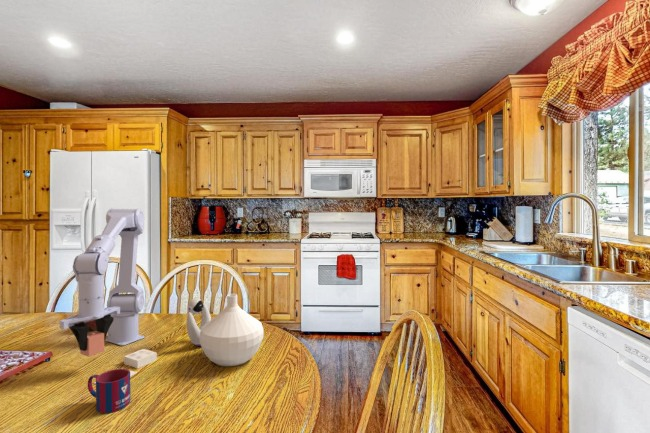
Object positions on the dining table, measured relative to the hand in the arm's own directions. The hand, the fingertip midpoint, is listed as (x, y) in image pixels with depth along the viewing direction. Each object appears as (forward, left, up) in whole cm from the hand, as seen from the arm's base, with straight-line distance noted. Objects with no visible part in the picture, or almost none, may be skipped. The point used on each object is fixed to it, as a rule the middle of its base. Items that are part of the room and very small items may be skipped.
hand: (92, 346), depth 94 cm
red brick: (0, 0, -2) cm, 2 cm away
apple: (-32, +18, -7) cm, 37 cm away
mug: (+19, -7, -7) cm, 22 cm away
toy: (+11, +27, -7) cm, 30 cm away
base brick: (+6, +10, -7) cm, 14 cm away
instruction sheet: (+9, +1, -7) cm, 11 cm away
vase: (+28, +24, -7) cm, 38 cm away
